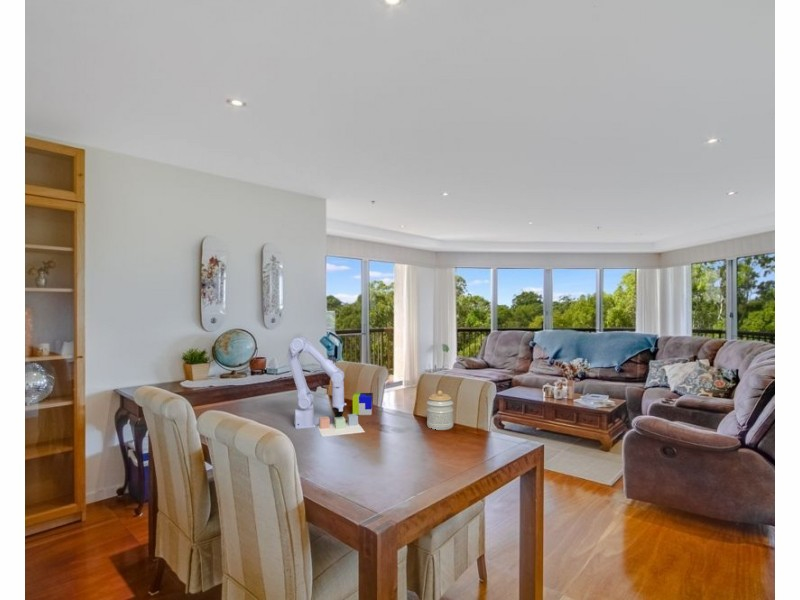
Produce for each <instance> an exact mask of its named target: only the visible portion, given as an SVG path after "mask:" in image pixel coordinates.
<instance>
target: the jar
mask: <svg viewBox="0 0 800 600" xmlns="http://www.w3.org/2000/svg"><path fill="white" fill-rule="evenodd" d="M426 405H427V407H426V413H427V414H426V417H427V418H426V425H427V428H429V429H431V428H432V429H431V430H435V429H436V430H437V431H446V430H450V429H452V428H453V427H454V408H453V405H454V402H453V400H452V397H451V396H450V395H449V394H448V393H443V391H442V390H438V391H437V392H436V393H433V394H431V395H429V396H428V400H427V401H426Z"/></svg>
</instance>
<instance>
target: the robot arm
mask: <svg viewBox="0 0 800 600" xmlns="http://www.w3.org/2000/svg"><path fill="white" fill-rule="evenodd" d="M301 353H307V354H310V356H312V357H313V358H314V359H315V360H316V361H317V362H318V364H320V369H322V371H323V372H324V373H325V374H327V376H328V377H329V378H330V379H331V382H332V388H331V389H332V390H331V391H332V392H331V393H332V395H331V397H332V398H331V399H332V404H331V406H332V411H333V415H334V417H343V414H344V412H345V408H344V407H345V406H347V405H348V404H347V403H346V402H345V385H344V384H345V382H344V379H345V377H346V376H345V372H344V371H343V370H342V369H341V368H339V367H338V366H336V365H335V364H334V361H333V360H332V359H329V358H327V359H326V358H325V357H324V356H323V355H322V354H321V352H320V351H319V350H318V349H317V348H316V347H315V345H313V344H312V342H311V341H309V340H308V339H307V338H306V337H304V336H299V337H296V338H294V339H292V341H290V343H289V345H288V352H287V355H286V359H287V361H288V365H289V368H290V371H291V374H292V377H293V380H294V383H295V387H296V390H297V395H296V396H297V405H298V408H295V409H294V421H293V424H294V428H295V429H296V430H299V429H309V428H315V427H316V426H317V425H316V424H315V414H314V413H315V410H314V409H315V406H314V404H313V403H314V402H315V396H314V394H313V393H312V392H311V389H310V388H309V386H308V384H307V381H306V378H305V375H304V371H303V367H302V365H301V362H300V356H301Z"/></svg>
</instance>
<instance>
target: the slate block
mask: <svg viewBox="0 0 800 600" xmlns="http://www.w3.org/2000/svg"><path fill="white" fill-rule="evenodd" d="M346 416H347V417H346V421H347V422H346V423H347V424H348V425H349V426H355V425H358V424H359V415H357V414H353V413H350V414H349V413H348V414H347V415H346Z"/></svg>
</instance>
